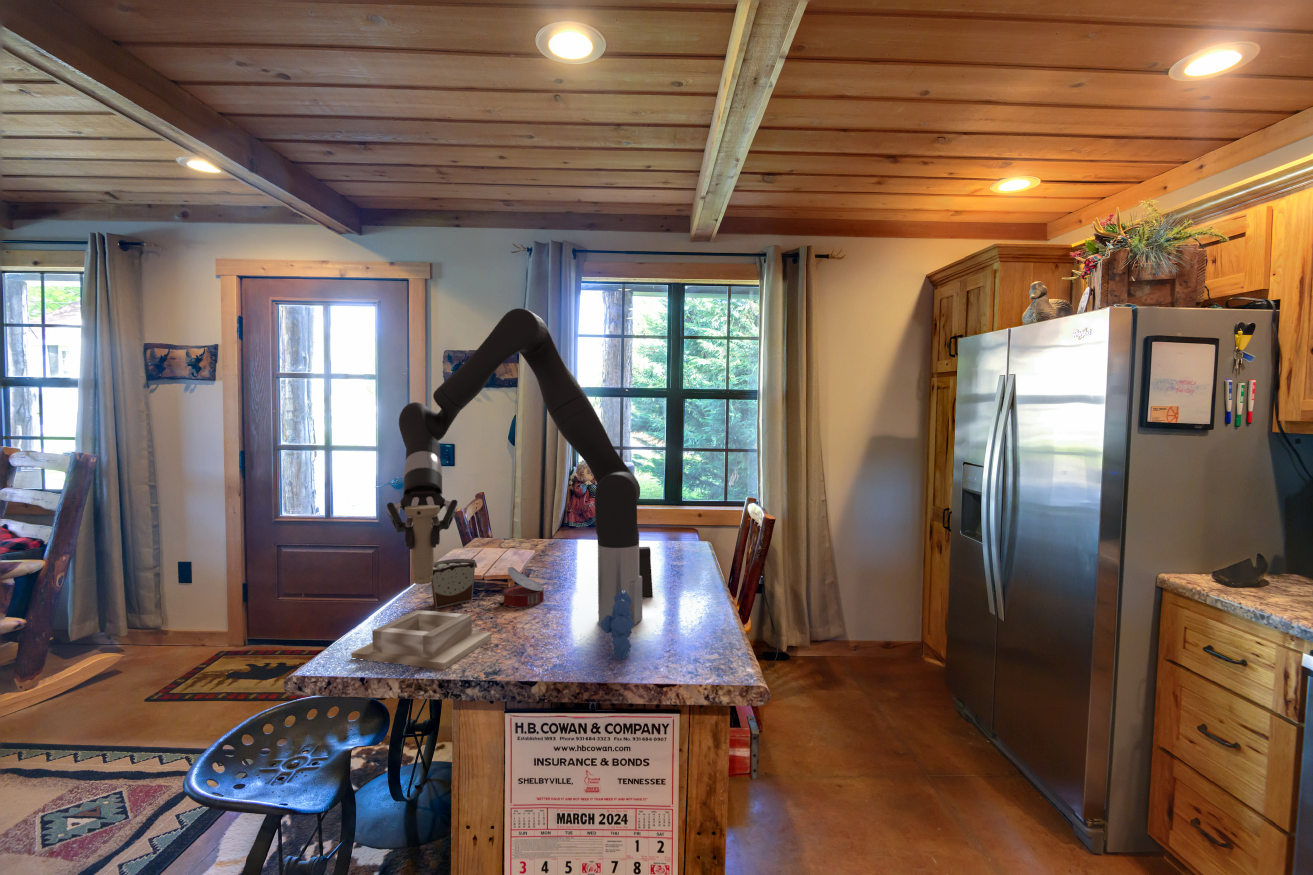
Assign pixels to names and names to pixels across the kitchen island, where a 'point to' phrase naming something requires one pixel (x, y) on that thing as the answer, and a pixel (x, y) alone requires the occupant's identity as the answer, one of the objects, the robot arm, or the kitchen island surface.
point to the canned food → (523, 591)
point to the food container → (453, 581)
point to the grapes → (619, 624)
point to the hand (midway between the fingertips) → (422, 545)
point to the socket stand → (424, 640)
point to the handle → (422, 541)
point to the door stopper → (645, 571)
